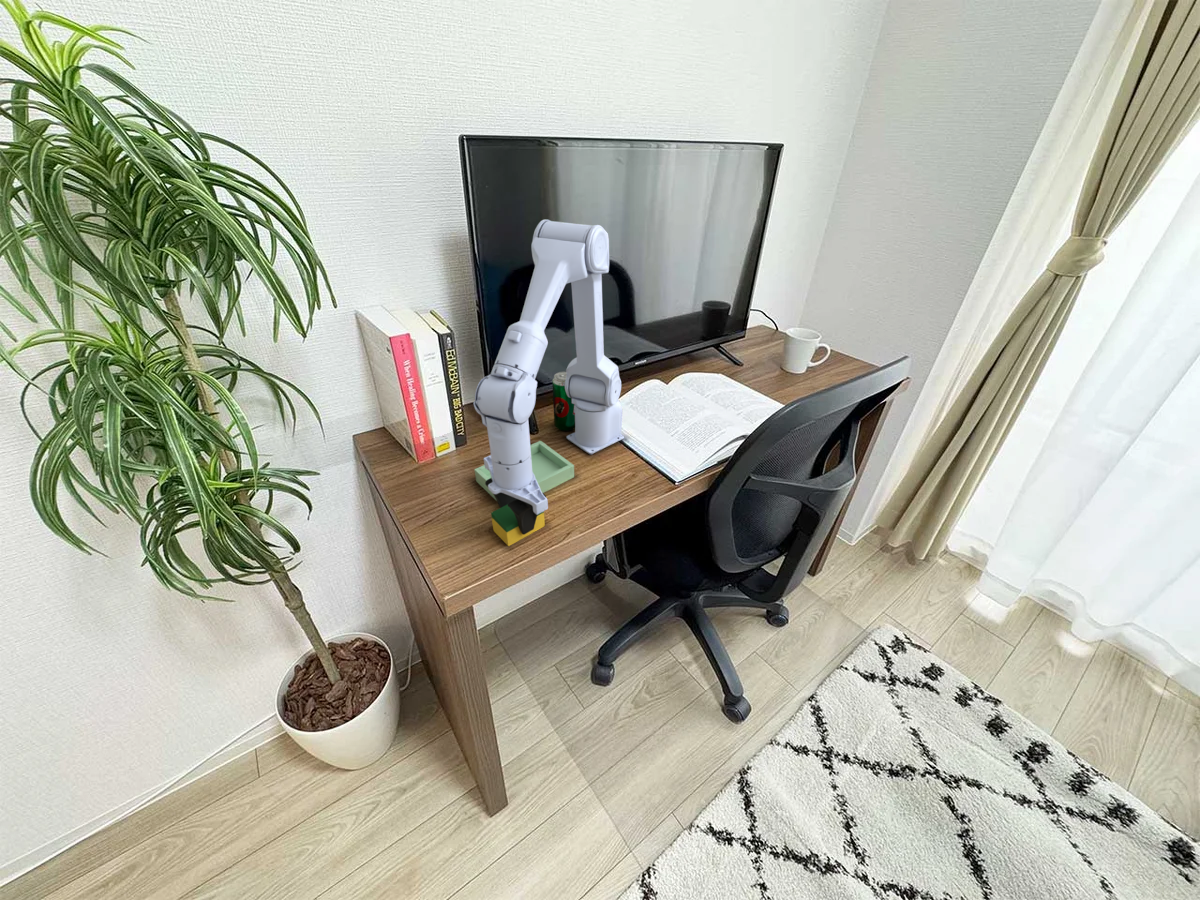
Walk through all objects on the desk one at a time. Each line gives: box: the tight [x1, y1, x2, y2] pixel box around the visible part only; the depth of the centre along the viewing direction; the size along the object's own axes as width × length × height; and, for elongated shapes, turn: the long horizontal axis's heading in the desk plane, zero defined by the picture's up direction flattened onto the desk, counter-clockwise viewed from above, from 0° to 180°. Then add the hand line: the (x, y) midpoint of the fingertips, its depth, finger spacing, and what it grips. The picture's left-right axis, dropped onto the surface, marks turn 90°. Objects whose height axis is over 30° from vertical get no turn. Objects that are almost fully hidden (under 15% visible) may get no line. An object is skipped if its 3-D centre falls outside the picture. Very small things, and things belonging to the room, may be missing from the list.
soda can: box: [551, 371, 575, 432], centre depth 99 cm, size 5×5×12 cm
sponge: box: [490, 504, 546, 547], centre depth 76 cm, size 7×4×4 cm, turn 131°
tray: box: [474, 440, 575, 502], centre depth 87 cm, size 15×11×3 cm
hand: (518, 522), depth 76 cm, fingers closed on sponge, 4 cm apart
